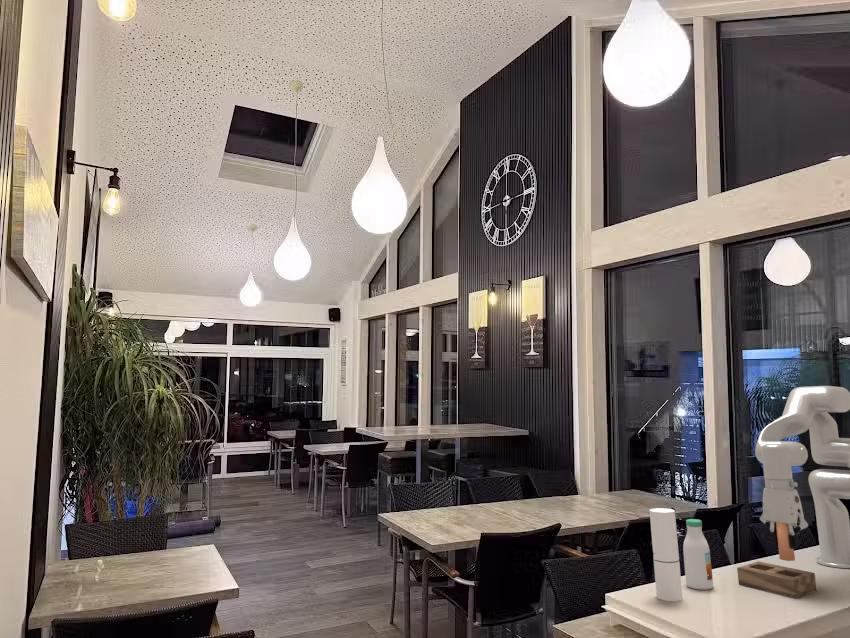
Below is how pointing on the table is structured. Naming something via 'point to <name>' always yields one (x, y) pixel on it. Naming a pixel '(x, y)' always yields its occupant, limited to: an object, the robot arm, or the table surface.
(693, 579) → the milk bottle
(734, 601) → the table surface
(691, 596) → the table surface
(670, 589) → the cylindrical container
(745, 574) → the socket block
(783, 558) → the pin
